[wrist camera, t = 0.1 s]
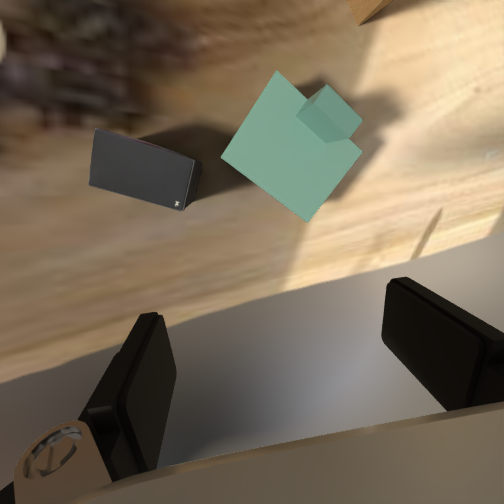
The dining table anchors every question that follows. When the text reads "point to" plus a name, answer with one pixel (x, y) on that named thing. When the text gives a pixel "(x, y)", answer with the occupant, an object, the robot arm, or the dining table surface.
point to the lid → (296, 145)
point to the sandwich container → (366, 8)
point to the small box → (143, 170)
